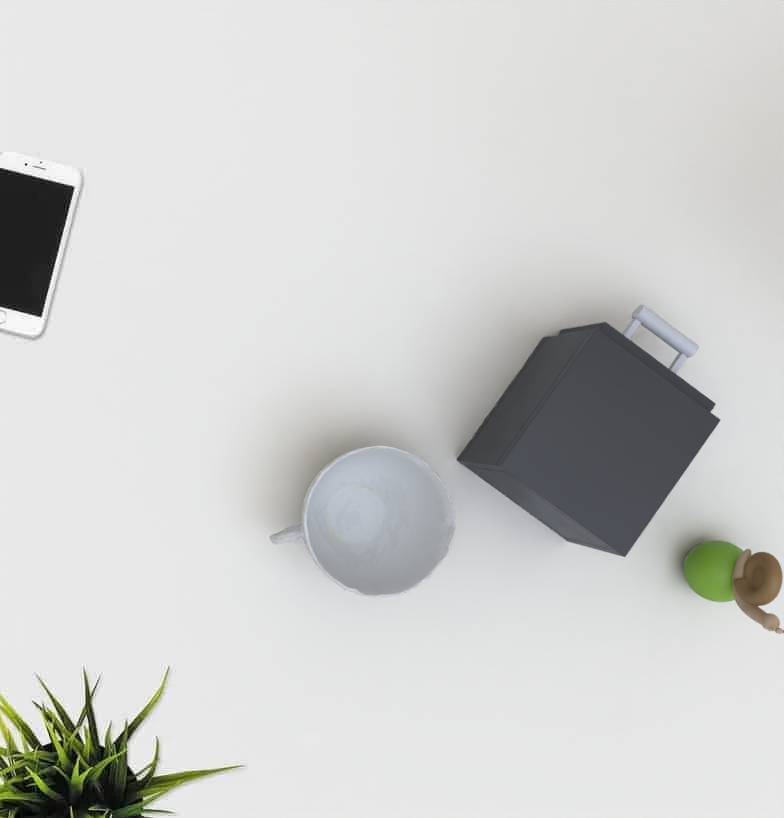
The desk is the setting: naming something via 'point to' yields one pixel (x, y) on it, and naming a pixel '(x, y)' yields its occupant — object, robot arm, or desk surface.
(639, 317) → the fryer drawer
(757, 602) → the snail figurine
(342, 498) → the teacup
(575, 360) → the air fryer
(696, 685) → the desk surface
